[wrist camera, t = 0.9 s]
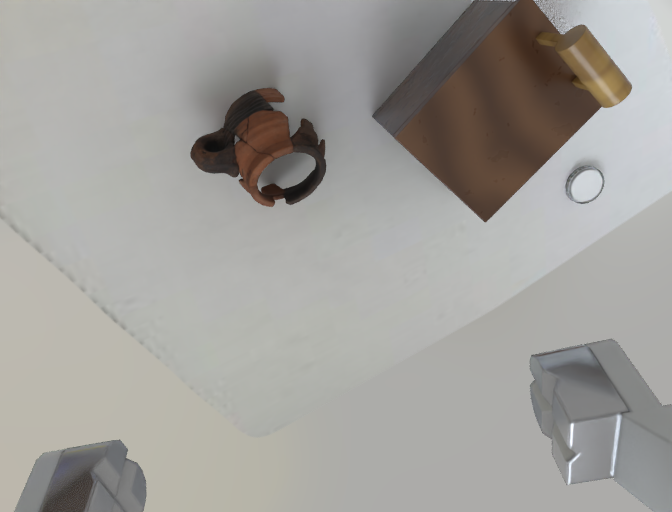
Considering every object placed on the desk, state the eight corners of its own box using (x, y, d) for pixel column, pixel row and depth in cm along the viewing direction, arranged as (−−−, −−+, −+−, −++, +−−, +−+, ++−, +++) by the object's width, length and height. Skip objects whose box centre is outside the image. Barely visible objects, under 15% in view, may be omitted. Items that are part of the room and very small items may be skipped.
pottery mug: (305, 73, 52) (340, 128, 48) (299, 152, 59) (329, 206, 55) (175, 92, 48) (199, 153, 44) (186, 174, 56) (207, 233, 51)
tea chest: (475, -1, 51) (514, 0, 44) (550, 87, 56) (598, 102, 48) (371, 116, 54) (392, 135, 47) (451, 190, 59) (482, 219, 51)
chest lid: (522, -8, 43) (569, -8, 37) (606, 95, 48) (660, 110, 42) (392, 136, 47) (415, 158, 40) (482, 219, 51) (515, 251, 45)
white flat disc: (606, 187, 61) (610, 189, 61) (574, 208, 62) (577, 210, 61) (593, 158, 59) (596, 160, 59) (560, 180, 60) (563, 182, 59)
